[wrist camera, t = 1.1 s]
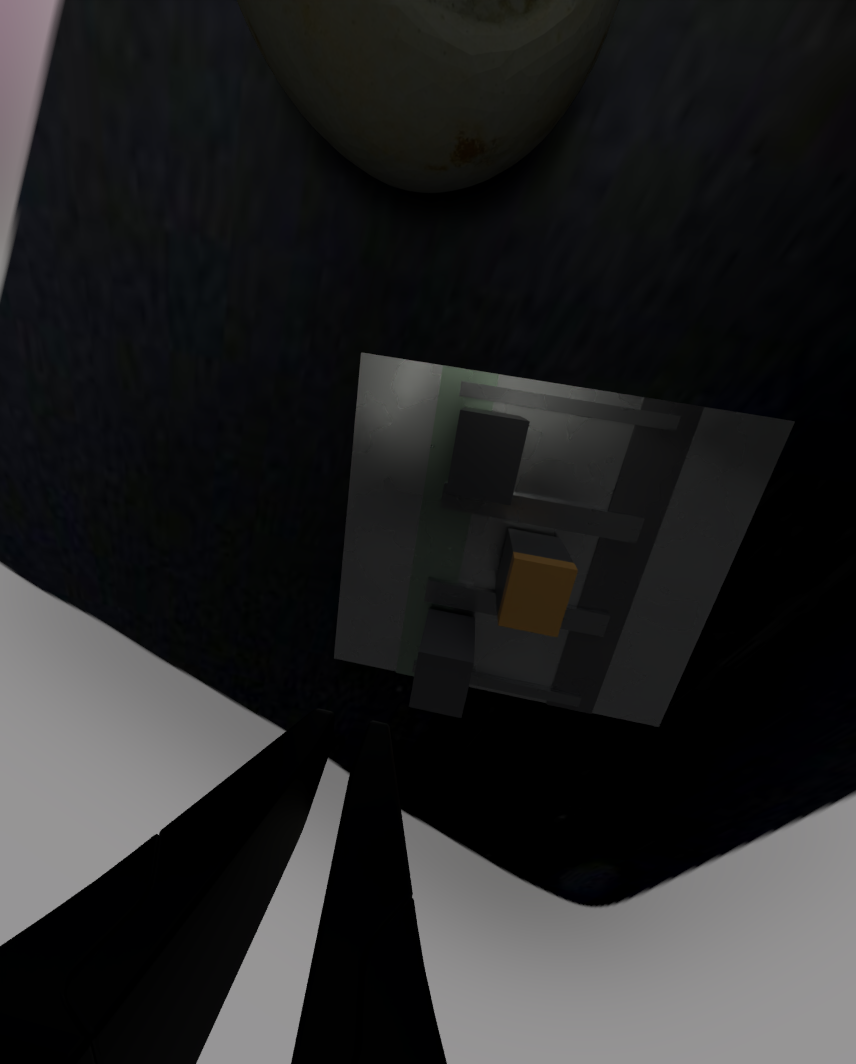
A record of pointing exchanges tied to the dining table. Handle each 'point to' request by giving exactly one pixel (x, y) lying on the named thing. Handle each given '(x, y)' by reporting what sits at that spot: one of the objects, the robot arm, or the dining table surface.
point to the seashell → (431, 78)
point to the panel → (547, 530)
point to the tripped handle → (534, 582)
